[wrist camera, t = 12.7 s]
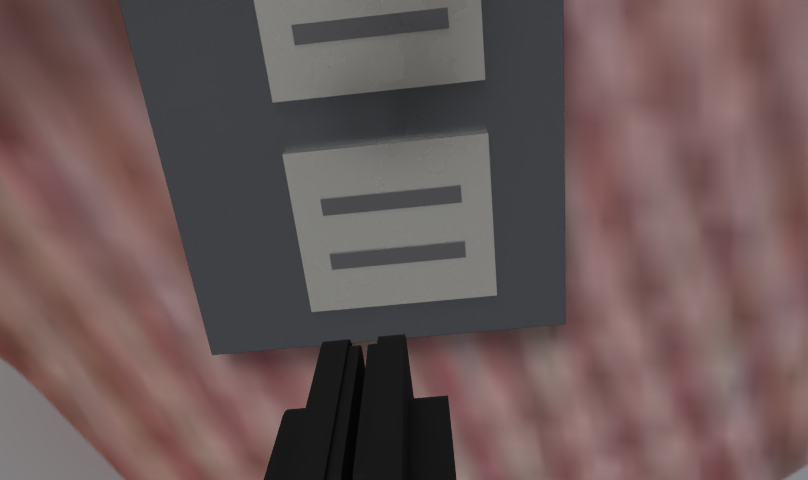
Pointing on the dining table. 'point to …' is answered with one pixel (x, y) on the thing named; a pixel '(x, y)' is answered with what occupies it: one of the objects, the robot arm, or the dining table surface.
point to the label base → (360, 163)
